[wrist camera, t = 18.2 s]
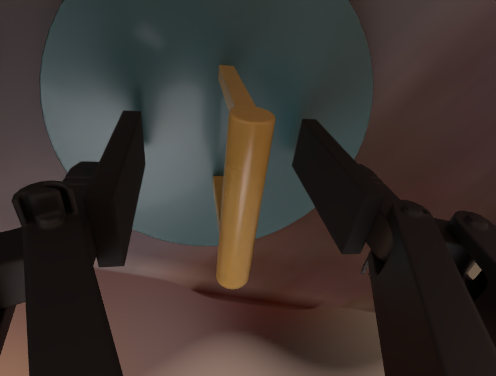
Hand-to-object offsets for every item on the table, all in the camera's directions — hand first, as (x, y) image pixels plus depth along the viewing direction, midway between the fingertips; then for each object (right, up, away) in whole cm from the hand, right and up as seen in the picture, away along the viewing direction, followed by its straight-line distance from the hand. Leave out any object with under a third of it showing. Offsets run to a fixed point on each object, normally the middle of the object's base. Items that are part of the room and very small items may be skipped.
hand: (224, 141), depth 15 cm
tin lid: (0, +1, +1) cm, 2 cm away
